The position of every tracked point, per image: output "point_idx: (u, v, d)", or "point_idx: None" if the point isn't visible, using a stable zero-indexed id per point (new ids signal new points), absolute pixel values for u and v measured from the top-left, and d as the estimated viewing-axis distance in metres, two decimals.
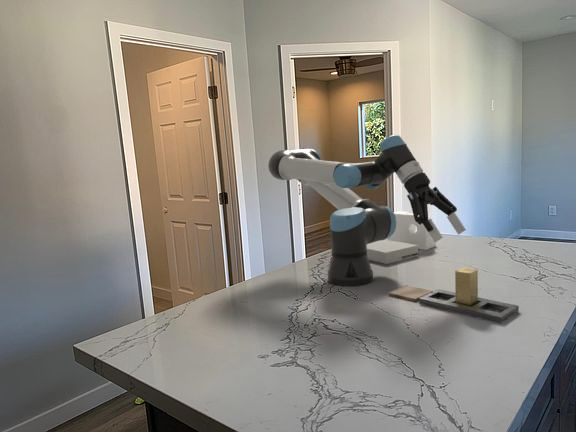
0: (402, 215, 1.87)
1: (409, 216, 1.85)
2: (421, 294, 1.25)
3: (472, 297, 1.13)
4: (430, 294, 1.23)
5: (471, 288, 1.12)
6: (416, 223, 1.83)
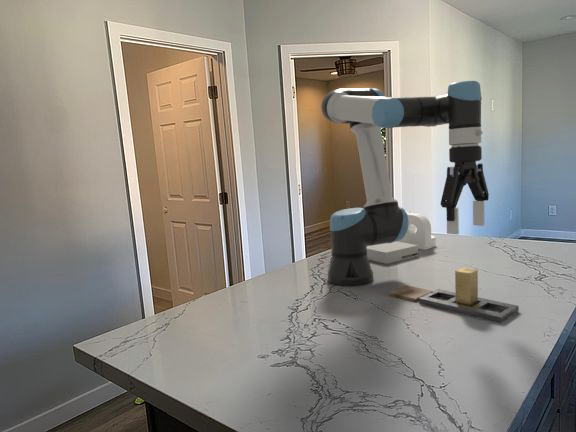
0: None
1: (409, 216, 1.85)
2: (421, 294, 1.25)
3: (472, 297, 1.13)
4: (430, 294, 1.23)
5: (471, 288, 1.12)
6: (416, 223, 1.83)
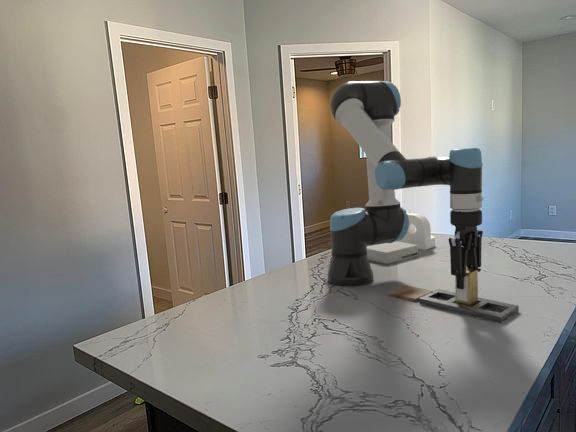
0: None
1: (408, 216, 1.85)
2: (421, 294, 1.25)
3: (472, 297, 1.13)
4: (430, 294, 1.23)
5: (471, 288, 1.12)
6: (415, 223, 1.83)
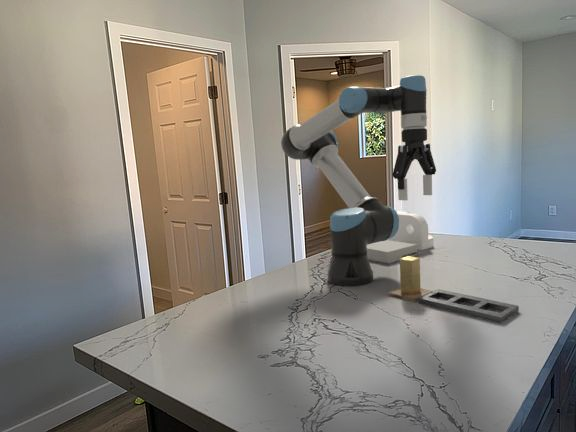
0: (399, 215, 1.88)
1: (406, 216, 1.85)
2: (421, 294, 1.25)
3: (414, 282, 1.26)
4: (430, 294, 1.23)
5: (413, 274, 1.25)
6: (412, 223, 1.83)
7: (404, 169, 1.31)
